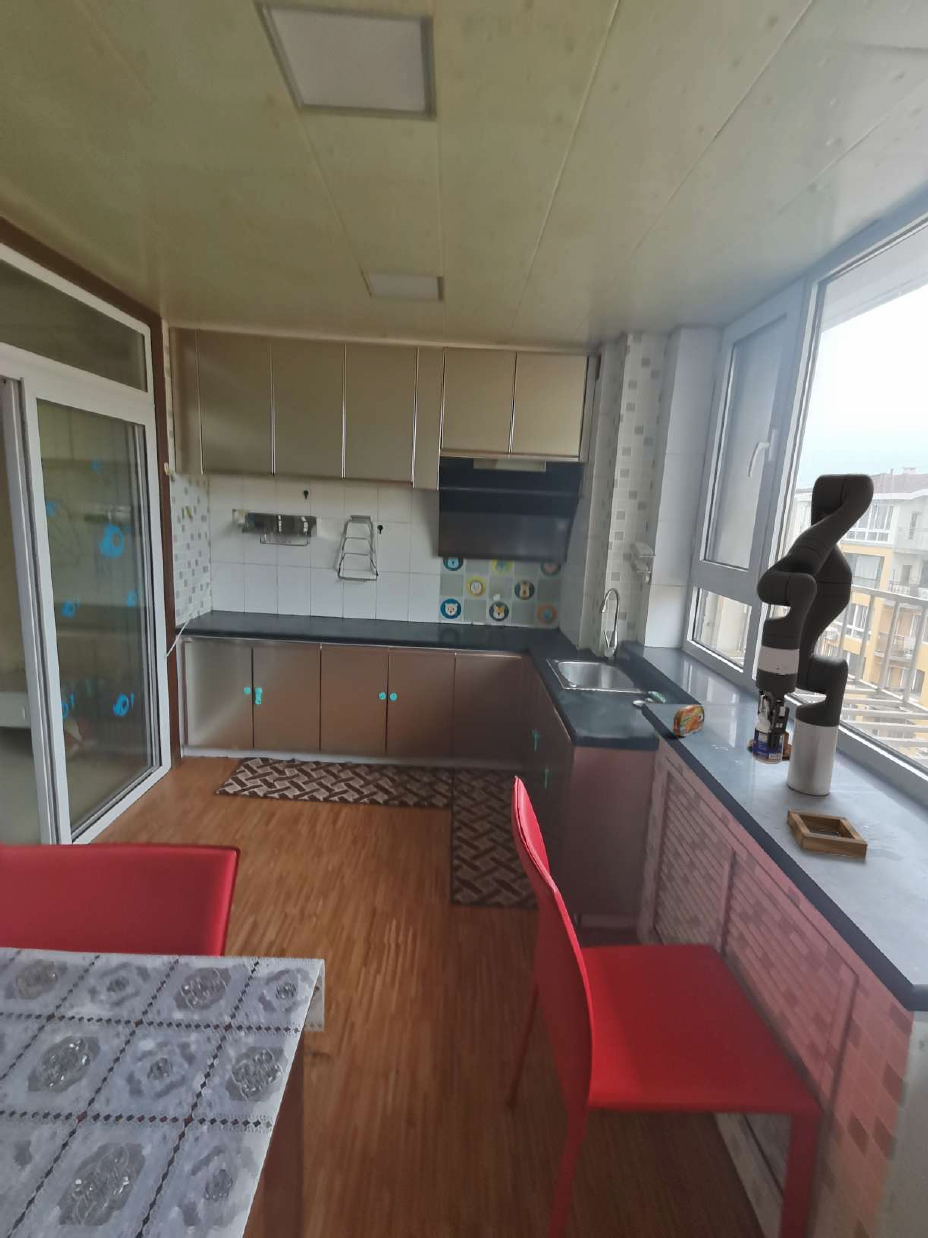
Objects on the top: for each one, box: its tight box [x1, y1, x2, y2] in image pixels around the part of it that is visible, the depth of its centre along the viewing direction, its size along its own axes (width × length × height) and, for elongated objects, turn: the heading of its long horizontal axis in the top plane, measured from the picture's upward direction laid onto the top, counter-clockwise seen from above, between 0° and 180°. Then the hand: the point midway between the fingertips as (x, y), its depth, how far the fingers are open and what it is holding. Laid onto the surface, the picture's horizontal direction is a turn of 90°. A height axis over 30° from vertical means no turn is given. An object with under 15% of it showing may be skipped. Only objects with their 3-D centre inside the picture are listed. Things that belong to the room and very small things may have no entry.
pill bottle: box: [751, 712, 785, 765], centre depth 126 cm, size 6×6×10 cm
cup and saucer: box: [749, 731, 792, 758], centre depth 168 cm, size 12×12×6 cm
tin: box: [673, 704, 705, 737], centre depth 181 cm, size 15×3×8 cm, turn 131°
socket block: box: [786, 809, 869, 860], centre depth 121 cm, size 11×11×3 cm
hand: (768, 743), depth 126 cm, fingers closed on pill bottle, 5 cm apart
